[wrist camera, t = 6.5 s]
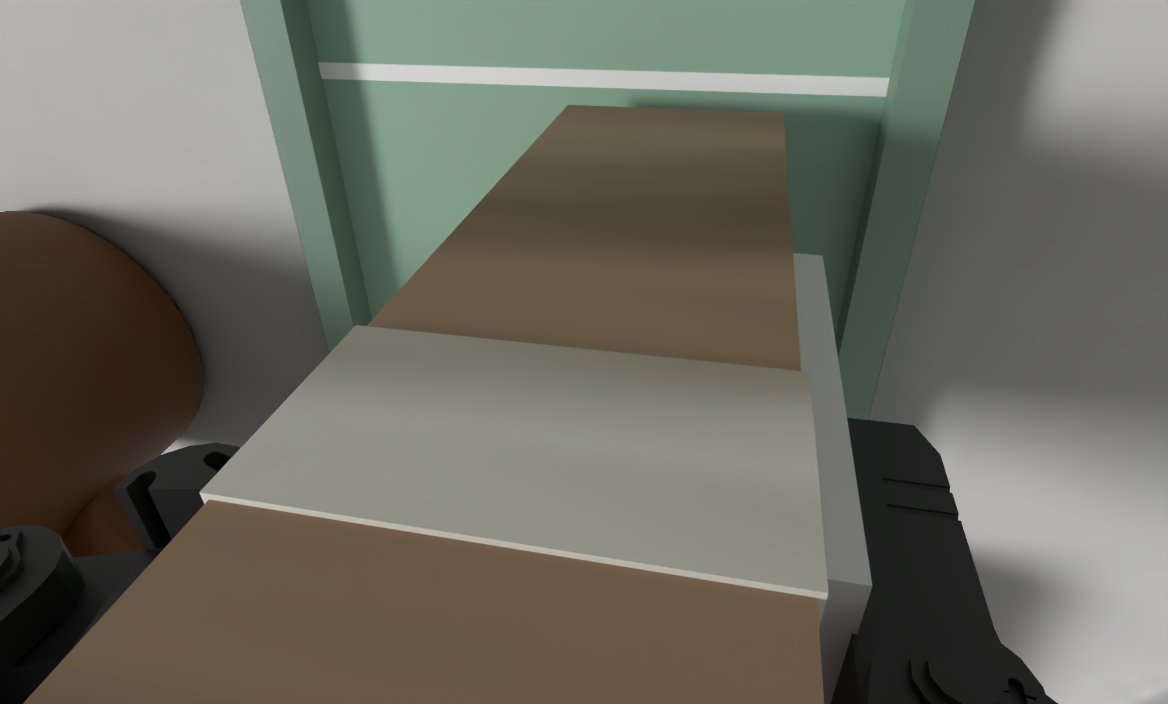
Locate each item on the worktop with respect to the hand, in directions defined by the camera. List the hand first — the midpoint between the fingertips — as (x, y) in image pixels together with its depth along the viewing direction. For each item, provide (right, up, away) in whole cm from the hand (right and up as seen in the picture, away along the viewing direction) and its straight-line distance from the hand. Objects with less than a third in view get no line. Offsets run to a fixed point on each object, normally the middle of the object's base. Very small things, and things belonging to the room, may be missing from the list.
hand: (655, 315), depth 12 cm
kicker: (0, +1, +1) cm, 2 cm away
